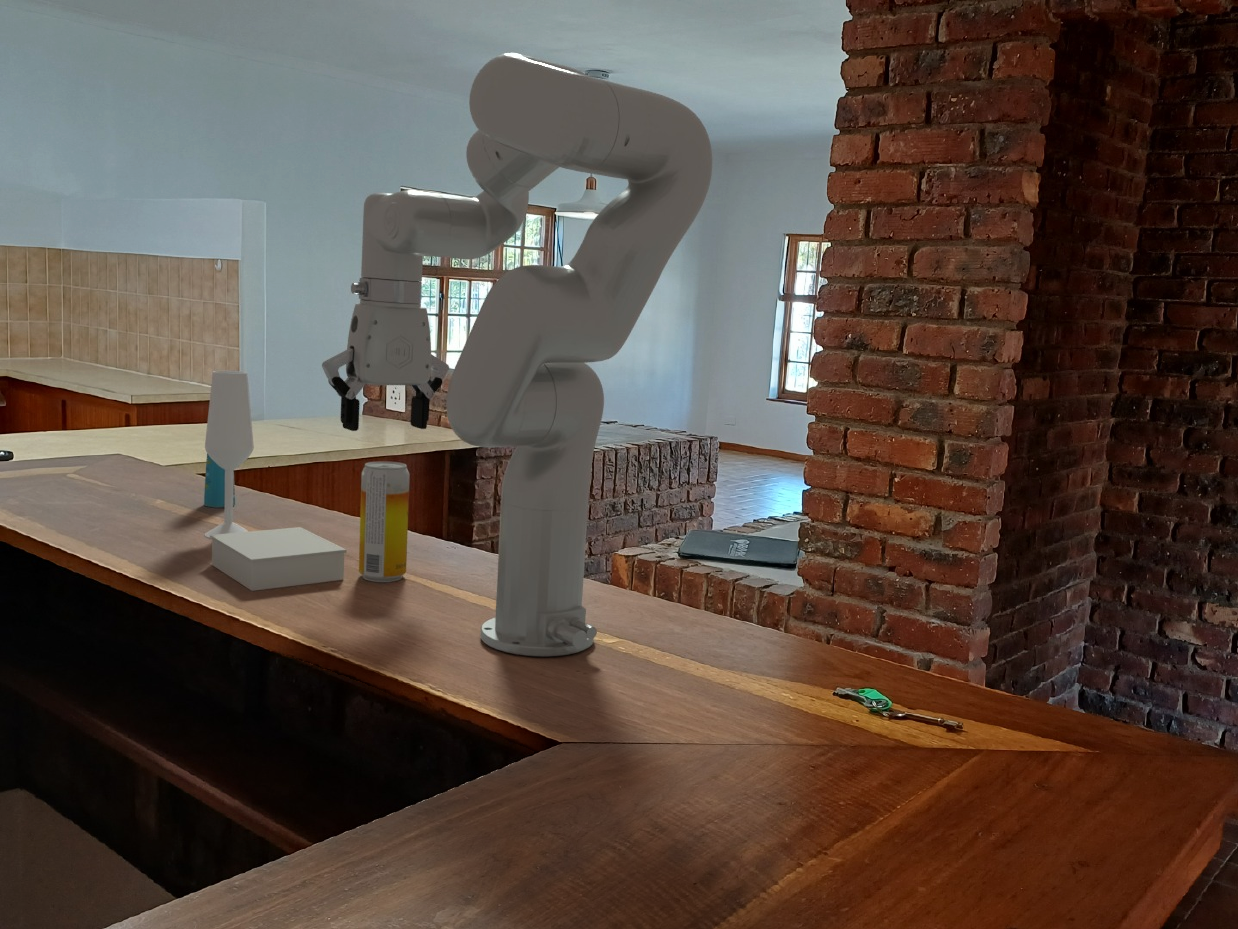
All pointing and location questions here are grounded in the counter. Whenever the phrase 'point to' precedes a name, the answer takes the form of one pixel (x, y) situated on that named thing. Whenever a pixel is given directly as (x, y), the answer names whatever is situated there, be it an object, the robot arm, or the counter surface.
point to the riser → (277, 558)
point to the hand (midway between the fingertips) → (385, 428)
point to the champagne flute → (229, 434)
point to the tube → (215, 485)
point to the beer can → (383, 521)
